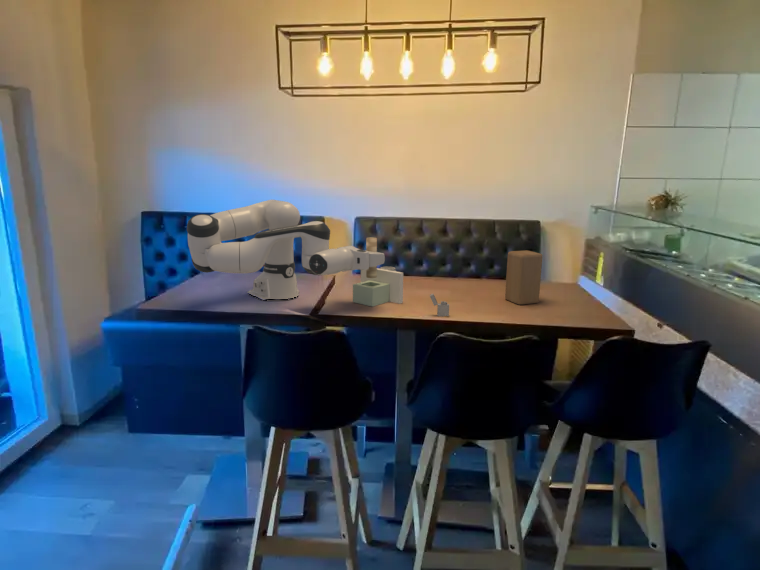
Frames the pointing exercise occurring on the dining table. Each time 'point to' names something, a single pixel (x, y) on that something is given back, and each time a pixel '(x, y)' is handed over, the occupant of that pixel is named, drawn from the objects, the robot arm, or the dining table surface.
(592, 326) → the dining table surface
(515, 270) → the wooden block
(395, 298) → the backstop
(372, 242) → the dowel
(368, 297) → the green square bin
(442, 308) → the lighter
